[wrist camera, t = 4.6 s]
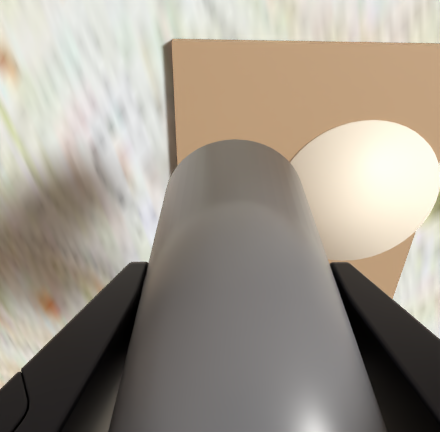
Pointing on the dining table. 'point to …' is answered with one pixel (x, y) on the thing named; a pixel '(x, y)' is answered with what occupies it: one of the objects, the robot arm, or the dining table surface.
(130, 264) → the robot arm
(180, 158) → the kraft pad
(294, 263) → the marker
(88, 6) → the dining table surface
